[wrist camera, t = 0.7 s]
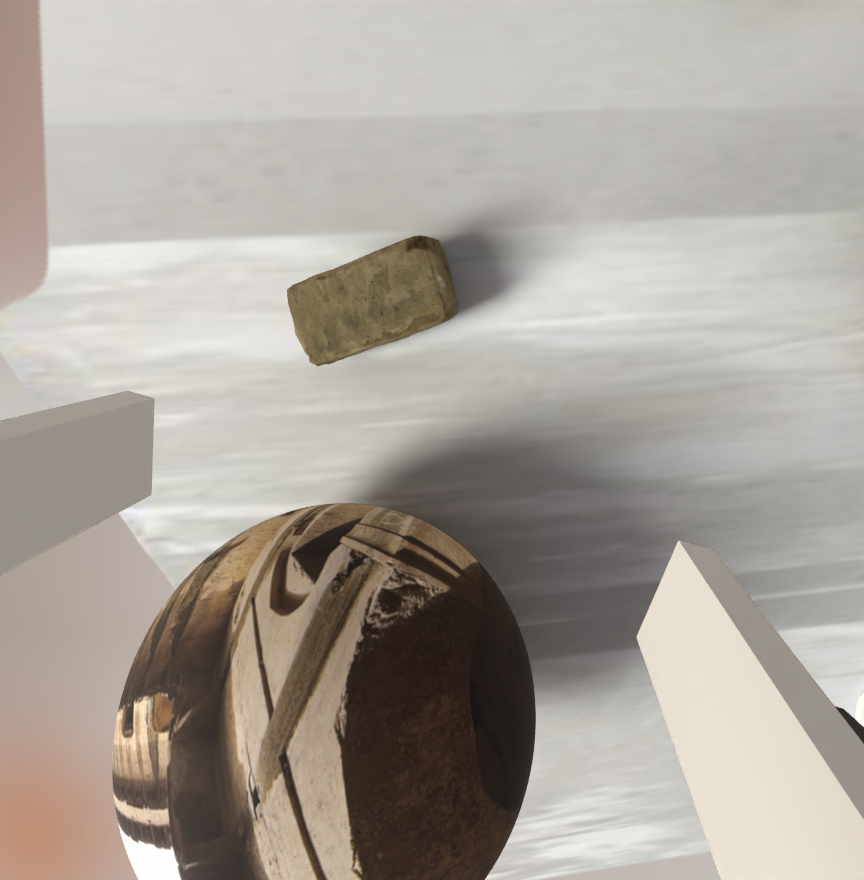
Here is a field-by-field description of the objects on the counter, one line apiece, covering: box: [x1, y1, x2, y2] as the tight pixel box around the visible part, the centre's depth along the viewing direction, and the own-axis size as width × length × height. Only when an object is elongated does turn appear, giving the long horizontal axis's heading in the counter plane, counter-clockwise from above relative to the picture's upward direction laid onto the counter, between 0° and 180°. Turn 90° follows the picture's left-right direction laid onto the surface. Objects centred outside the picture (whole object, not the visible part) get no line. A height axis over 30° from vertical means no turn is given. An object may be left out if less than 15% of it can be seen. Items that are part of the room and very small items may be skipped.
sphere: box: [112, 503, 536, 880], centre depth 31 cm, size 25×25×25 cm
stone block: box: [287, 236, 458, 366], centre depth 33 cm, size 6×12×5 cm, turn 110°
